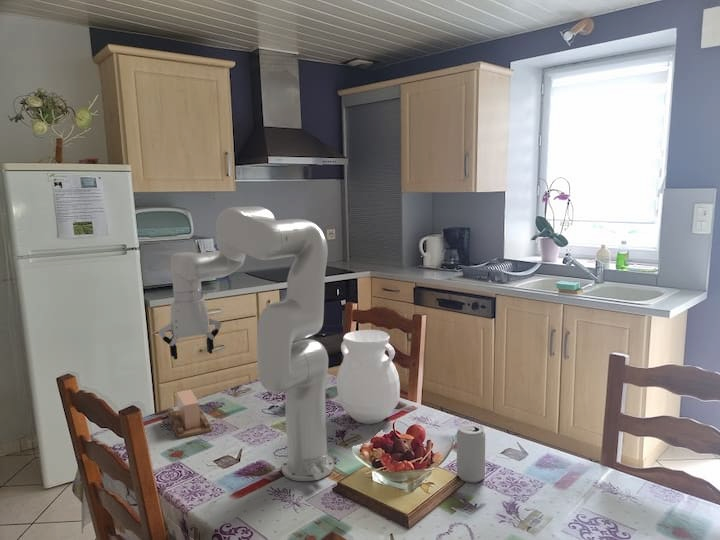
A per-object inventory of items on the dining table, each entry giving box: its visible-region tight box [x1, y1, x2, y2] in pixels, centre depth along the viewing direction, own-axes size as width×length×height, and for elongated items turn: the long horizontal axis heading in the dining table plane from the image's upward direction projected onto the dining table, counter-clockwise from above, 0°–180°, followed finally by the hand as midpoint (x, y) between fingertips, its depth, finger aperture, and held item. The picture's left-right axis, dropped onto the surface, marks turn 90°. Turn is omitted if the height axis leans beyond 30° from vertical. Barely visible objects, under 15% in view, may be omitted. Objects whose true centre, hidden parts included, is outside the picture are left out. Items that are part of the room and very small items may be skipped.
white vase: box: [336, 329, 401, 425], centre depth 156 cm, size 19×18×25 cm
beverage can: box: [456, 422, 486, 484], centre depth 123 cm, size 6×6×12 cm
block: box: [176, 389, 200, 429], centre depth 156 cm, size 4×12×7 cm, turn 28°
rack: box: [167, 406, 212, 440], centre depth 156 cm, size 18×9×2 cm, turn 28°
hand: (192, 355), depth 153 cm, fingers open, 9 cm apart
